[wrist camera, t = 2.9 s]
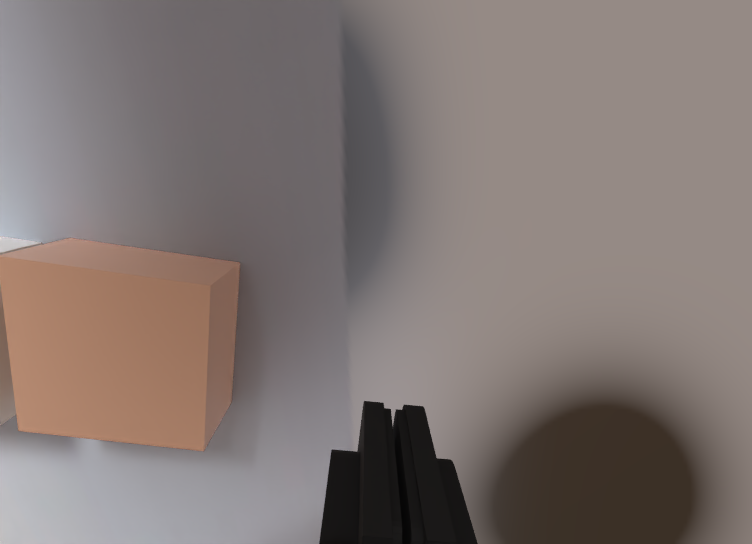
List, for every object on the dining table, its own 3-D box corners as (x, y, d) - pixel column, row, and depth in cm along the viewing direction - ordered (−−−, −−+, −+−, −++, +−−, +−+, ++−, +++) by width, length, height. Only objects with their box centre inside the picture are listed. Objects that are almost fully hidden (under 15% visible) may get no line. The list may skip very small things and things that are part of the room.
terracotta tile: (75, 236, 14) (-4, 255, 11) (242, 260, 14) (210, 285, 11) (84, 380, 15) (18, 431, 12) (233, 398, 16) (204, 451, 13)
